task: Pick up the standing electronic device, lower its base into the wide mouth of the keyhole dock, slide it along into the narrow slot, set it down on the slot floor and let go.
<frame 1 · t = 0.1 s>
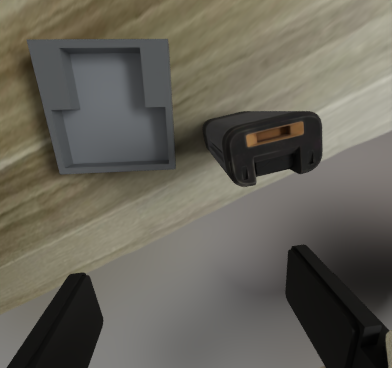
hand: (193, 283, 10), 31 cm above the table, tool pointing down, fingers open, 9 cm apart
keyhole dock: (116, 111, 36), on the table
electronic device: (228, 131, 39), on the table
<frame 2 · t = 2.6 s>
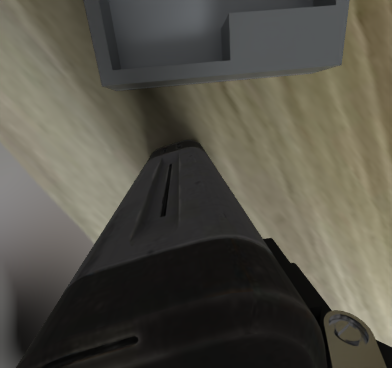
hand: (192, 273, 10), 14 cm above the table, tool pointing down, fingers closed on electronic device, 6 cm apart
electronic device: (185, 183, 24), on the table, touching gripper
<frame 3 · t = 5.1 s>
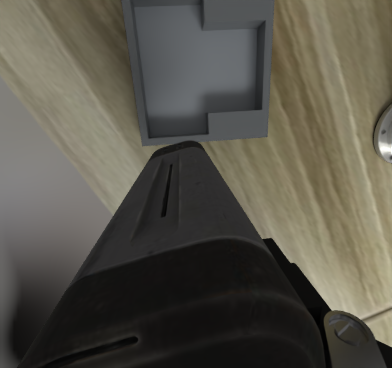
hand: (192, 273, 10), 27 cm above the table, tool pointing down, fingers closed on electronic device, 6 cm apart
keyhole dock: (199, 75, 32), on the table
electronic device: (186, 183, 24), point 13 cm above the table, touching gripper
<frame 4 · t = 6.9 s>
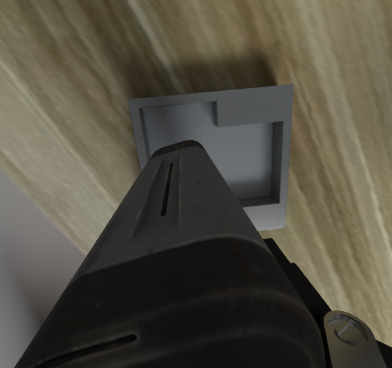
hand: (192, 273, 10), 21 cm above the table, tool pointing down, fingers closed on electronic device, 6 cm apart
keyhole dock: (212, 164, 31), on the table
electronic device: (186, 182, 24), point 7 cm above the table, touching gripper
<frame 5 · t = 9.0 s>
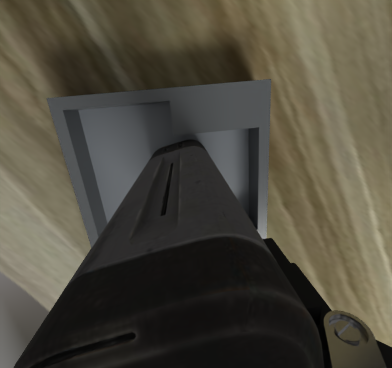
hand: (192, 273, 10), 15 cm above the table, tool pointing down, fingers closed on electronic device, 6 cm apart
keyhole dock: (175, 179, 25), on the table
electronic device: (187, 182, 24), point 1 cm above the table, touching gripper
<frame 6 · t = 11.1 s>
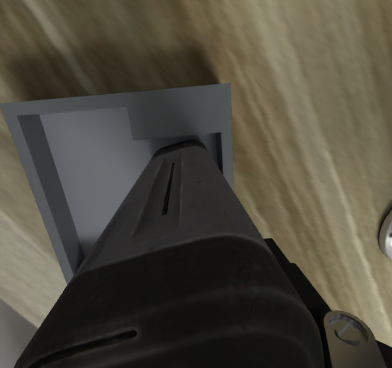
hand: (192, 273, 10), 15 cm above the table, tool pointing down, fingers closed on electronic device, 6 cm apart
keyhole dock: (144, 184, 24), on the table
electronic device: (188, 182, 24), point 1 cm above the table, touching gripper, keyhole dock
when the fingers open (15 cm above the table, at t = 11.1 s): electronic device stays where it is, resting on keyhole dock.
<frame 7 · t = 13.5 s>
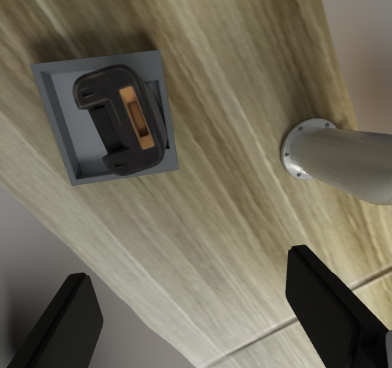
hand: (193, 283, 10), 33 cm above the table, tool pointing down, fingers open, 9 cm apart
keyhole dock: (118, 121, 38), on the table
electronic device: (145, 118, 38), point 1 cm above the table, touching keyhole dock
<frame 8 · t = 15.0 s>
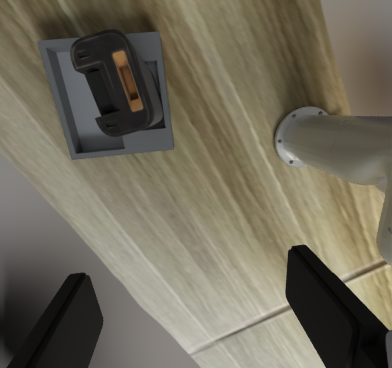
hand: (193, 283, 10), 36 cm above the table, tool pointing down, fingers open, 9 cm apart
keyhole dock: (118, 101, 40), on the table
electronic device: (144, 98, 40), point 1 cm above the table, touching keyhole dock
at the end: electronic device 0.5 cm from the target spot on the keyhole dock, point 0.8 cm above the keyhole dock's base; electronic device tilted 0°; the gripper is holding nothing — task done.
